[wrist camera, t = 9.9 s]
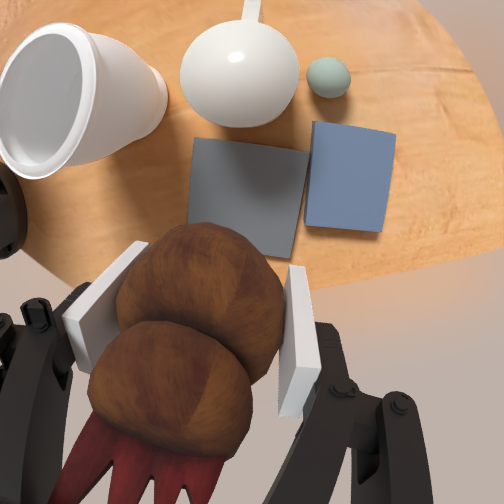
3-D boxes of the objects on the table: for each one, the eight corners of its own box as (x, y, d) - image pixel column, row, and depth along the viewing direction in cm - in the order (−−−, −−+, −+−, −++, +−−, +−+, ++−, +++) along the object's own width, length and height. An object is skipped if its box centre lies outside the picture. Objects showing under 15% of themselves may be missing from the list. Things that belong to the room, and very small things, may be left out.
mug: (203, 123, 26) (173, 122, 18) (218, 25, 22) (195, -11, 14) (285, 132, 26) (290, 135, 18) (299, 33, 22) (310, -3, 14)
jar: (179, 146, 28) (98, 170, 14) (95, 155, 28) (-4, 187, 15) (179, 47, 23) (102, -3, 10) (93, 66, 24) (-6, 53, 10)
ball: (301, 95, 25) (306, 90, 21) (307, 58, 23) (312, 48, 19) (342, 104, 25) (352, 100, 21) (347, 67, 23) (358, 58, 19)
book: (302, 217, 30) (305, 225, 28) (311, 121, 26) (315, 120, 24) (375, 224, 30) (382, 232, 28) (388, 133, 26) (397, 134, 24)
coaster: (188, 239, 32) (186, 243, 31) (196, 137, 27) (194, 137, 26) (289, 254, 32) (289, 258, 31) (308, 152, 27) (309, 153, 26)
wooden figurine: (147, 262, 17) (-7, 492, 3) (200, 184, 15) (-52, 477, 1) (238, 326, 18) (191, 579, 4) (301, 263, 16) (331, 591, 2)
